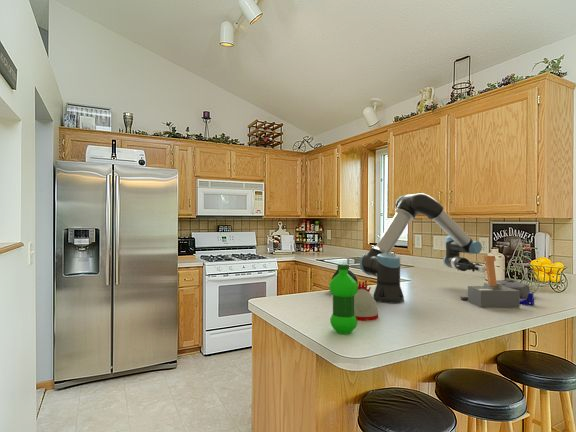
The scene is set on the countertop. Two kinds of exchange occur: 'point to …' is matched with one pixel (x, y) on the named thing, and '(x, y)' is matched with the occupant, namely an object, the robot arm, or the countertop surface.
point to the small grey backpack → (516, 287)
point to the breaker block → (493, 296)
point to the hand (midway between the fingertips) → (483, 269)
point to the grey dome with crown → (364, 304)
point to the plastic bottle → (343, 301)
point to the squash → (348, 273)
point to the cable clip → (528, 300)
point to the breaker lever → (491, 270)
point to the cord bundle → (464, 298)
